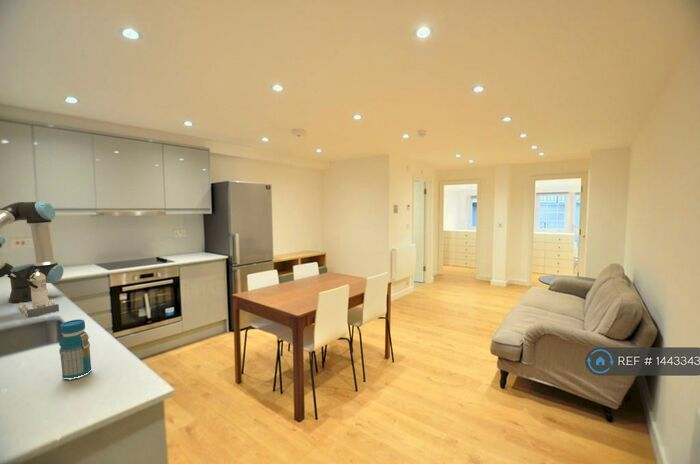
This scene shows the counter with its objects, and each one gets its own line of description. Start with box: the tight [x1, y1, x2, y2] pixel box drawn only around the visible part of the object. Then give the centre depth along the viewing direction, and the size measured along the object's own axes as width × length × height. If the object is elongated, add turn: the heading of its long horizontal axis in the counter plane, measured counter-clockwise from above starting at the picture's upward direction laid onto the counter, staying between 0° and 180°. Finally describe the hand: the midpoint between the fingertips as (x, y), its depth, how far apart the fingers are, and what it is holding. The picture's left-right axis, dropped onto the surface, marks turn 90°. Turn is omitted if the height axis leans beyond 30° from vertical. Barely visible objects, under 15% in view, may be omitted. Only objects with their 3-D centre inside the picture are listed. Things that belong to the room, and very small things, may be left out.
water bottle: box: [29, 270, 49, 309], centre depth 185 cm, size 7×7×25 cm
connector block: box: [27, 303, 60, 318], centre depth 182 cm, size 2×13×4 cm, turn 144°
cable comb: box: [17, 297, 56, 318], centre depth 190 cm, size 26×13×4 cm, turn 54°
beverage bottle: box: [58, 318, 92, 379], centre depth 116 cm, size 8×8×20 cm
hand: (40, 288), depth 185 cm, fingers open, 13 cm apart
